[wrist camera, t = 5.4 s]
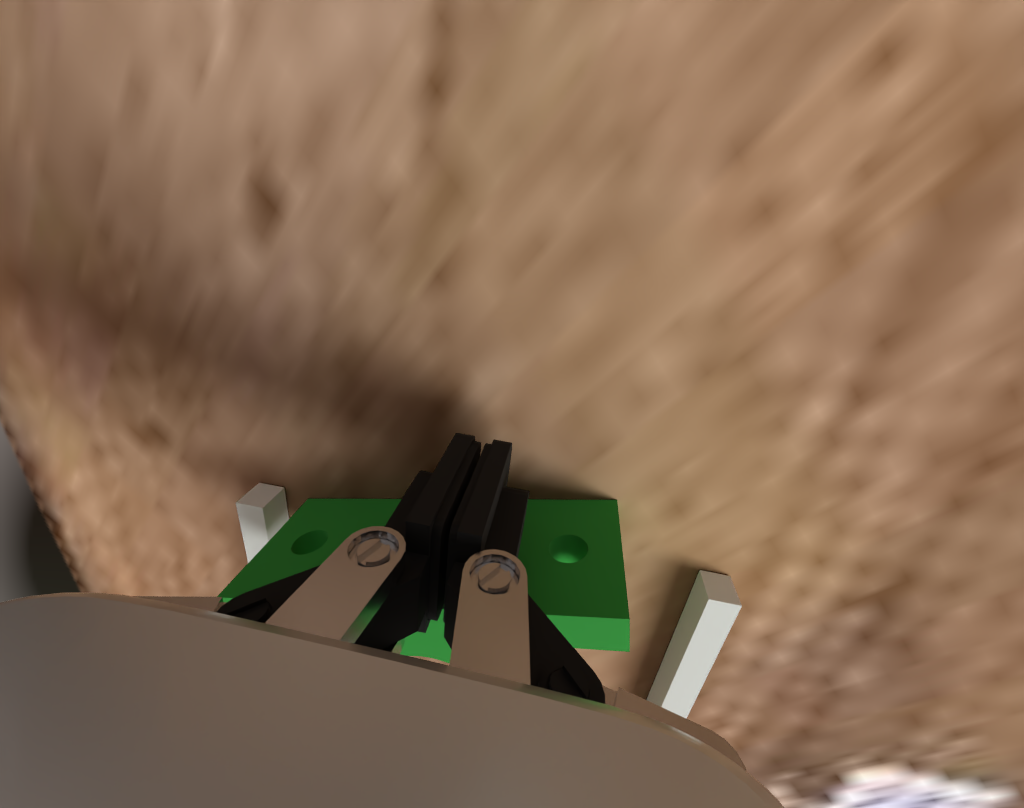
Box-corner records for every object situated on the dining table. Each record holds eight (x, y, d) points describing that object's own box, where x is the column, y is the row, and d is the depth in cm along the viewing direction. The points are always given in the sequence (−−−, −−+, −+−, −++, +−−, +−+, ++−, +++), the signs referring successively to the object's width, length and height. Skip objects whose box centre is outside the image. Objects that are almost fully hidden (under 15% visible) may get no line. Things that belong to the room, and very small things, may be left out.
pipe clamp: (337, 571, 18) (260, 683, 14) (310, 496, 16) (214, 596, 12) (619, 584, 15) (630, 723, 11) (618, 499, 14) (630, 623, 10)
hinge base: (259, 482, 16) (222, 513, 14) (730, 576, 14) (748, 622, 13) (309, 772, 25) (290, 812, 23) (604, 850, 23) (606, 898, 22)
